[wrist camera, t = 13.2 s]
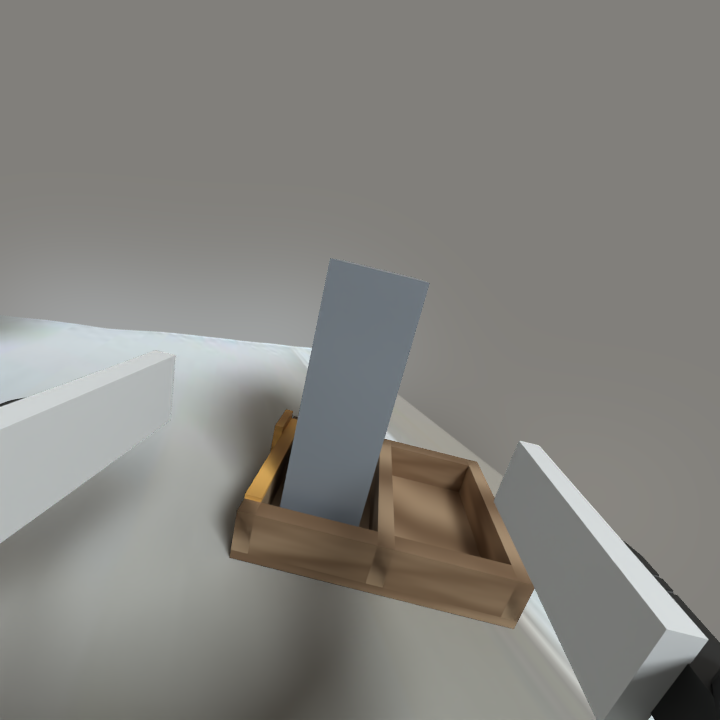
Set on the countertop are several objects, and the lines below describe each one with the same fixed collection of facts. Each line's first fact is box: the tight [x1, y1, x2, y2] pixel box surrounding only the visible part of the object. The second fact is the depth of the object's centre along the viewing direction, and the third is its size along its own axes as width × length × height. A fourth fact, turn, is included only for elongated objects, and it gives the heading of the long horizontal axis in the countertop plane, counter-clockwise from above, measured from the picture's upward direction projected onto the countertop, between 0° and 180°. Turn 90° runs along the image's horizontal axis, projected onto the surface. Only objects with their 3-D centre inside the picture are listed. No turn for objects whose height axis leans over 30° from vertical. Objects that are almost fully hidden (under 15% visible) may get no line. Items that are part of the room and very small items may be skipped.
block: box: [280, 258, 429, 527], centre depth 22 cm, size 8×5×17 cm, turn 176°
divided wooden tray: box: [230, 409, 535, 629], centre depth 24 cm, size 12×18×4 cm
